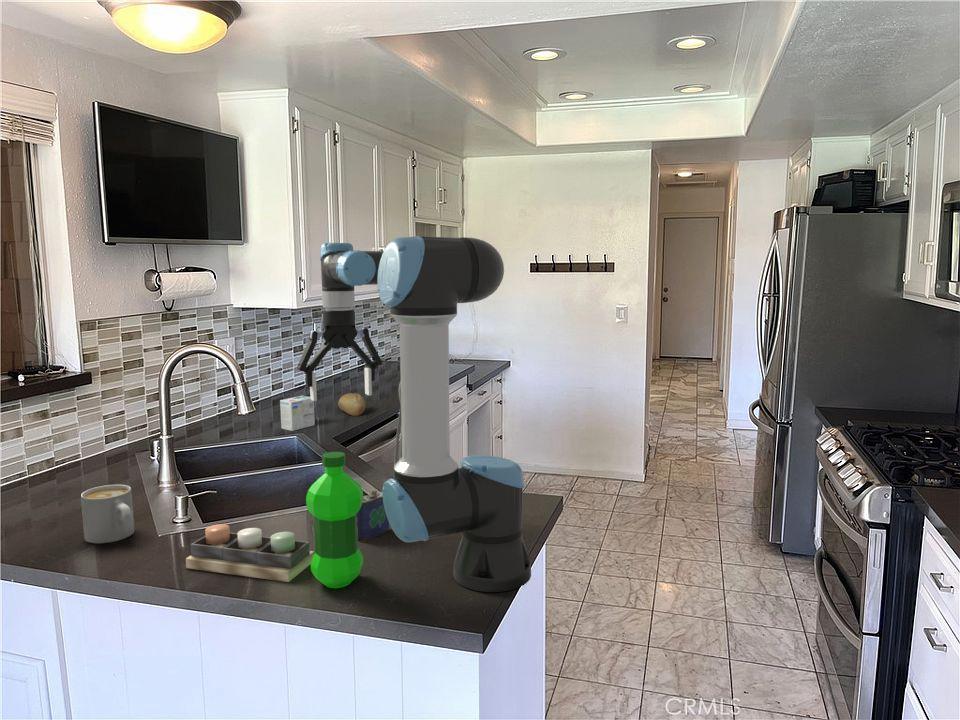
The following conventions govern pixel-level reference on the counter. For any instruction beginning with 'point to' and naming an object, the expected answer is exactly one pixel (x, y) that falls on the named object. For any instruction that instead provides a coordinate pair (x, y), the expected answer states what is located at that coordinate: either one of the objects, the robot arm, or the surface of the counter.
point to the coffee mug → (107, 513)
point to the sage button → (282, 542)
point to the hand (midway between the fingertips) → (341, 397)
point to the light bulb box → (297, 413)
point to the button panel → (250, 559)
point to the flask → (372, 517)
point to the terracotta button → (217, 534)
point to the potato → (352, 404)
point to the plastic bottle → (335, 523)
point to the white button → (249, 538)
